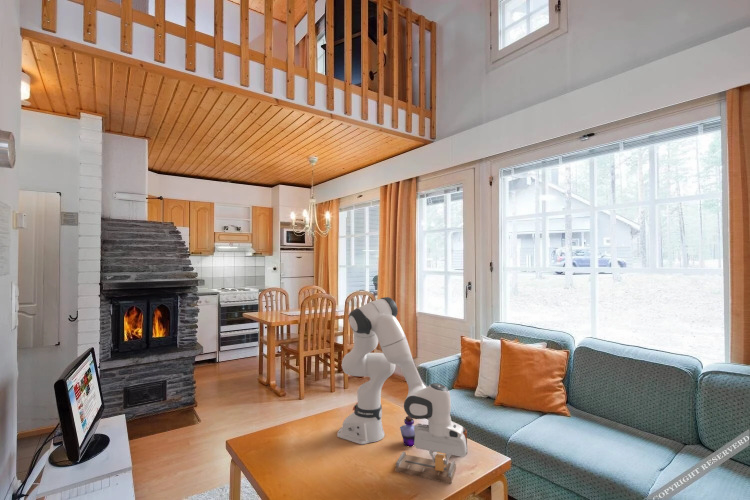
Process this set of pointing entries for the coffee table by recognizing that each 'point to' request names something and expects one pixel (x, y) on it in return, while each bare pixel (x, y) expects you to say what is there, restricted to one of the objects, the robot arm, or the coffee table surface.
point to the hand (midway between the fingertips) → (440, 462)
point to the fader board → (424, 468)
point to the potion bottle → (408, 432)
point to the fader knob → (439, 461)
